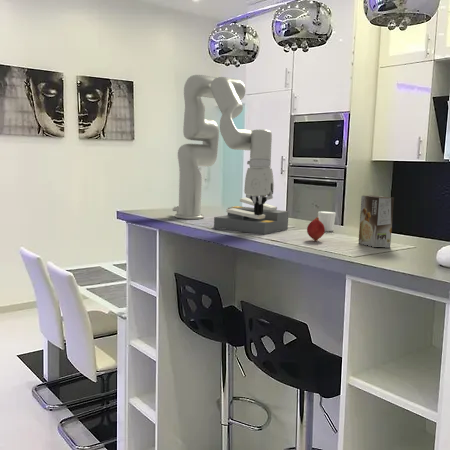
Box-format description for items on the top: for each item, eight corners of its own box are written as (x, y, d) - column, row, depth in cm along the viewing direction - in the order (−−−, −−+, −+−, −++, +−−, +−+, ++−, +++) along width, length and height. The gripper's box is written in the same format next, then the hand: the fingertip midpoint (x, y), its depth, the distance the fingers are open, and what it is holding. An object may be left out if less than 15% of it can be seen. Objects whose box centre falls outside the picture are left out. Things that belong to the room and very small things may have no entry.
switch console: (213, 227, 192) (214, 205, 190) (239, 223, 206) (240, 203, 205) (264, 234, 179) (265, 211, 178) (287, 229, 194) (288, 208, 193)
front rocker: (226, 212, 190) (226, 208, 190) (233, 211, 194) (233, 208, 194) (258, 219, 183) (258, 215, 182) (265, 218, 187) (265, 214, 187)
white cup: (333, 229, 200) (334, 211, 199) (335, 231, 194) (337, 213, 193) (316, 228, 201) (317, 210, 200) (317, 230, 194) (318, 212, 193)
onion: (304, 241, 168) (306, 217, 167) (308, 238, 174) (309, 215, 172) (322, 242, 166) (324, 218, 165) (325, 240, 172) (326, 216, 170)
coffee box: (391, 247, 162) (395, 197, 160) (375, 248, 159) (379, 197, 157) (372, 242, 170) (376, 195, 168) (357, 243, 168) (360, 195, 166)
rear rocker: (239, 201, 197) (240, 198, 197) (246, 200, 201) (246, 197, 201) (270, 210, 190) (271, 207, 190) (276, 209, 194) (277, 206, 194)
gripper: (237, 163, 184) (235, 213, 186) (273, 164, 176) (271, 217, 178) (247, 164, 190) (246, 212, 192) (283, 165, 182) (281, 215, 184)
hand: (258, 214), depth 185 cm, fingers closed
